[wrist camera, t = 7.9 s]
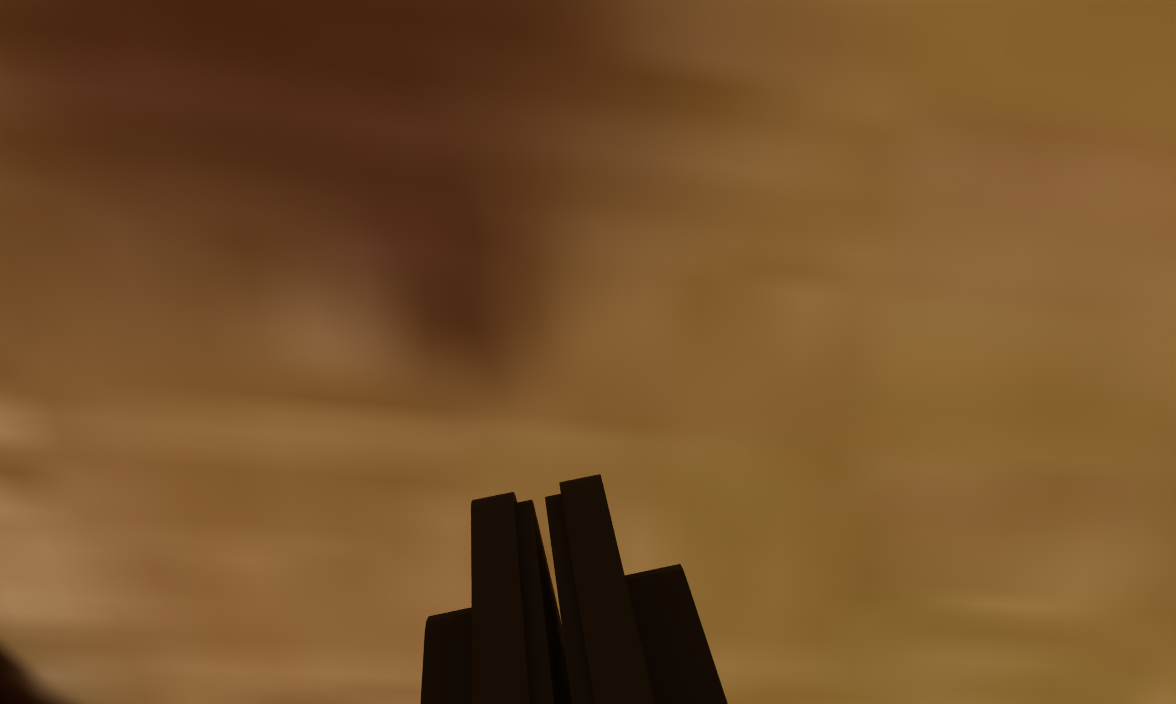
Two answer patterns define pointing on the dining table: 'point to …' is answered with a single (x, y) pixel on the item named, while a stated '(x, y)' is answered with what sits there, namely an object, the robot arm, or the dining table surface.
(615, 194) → the dining table surface
